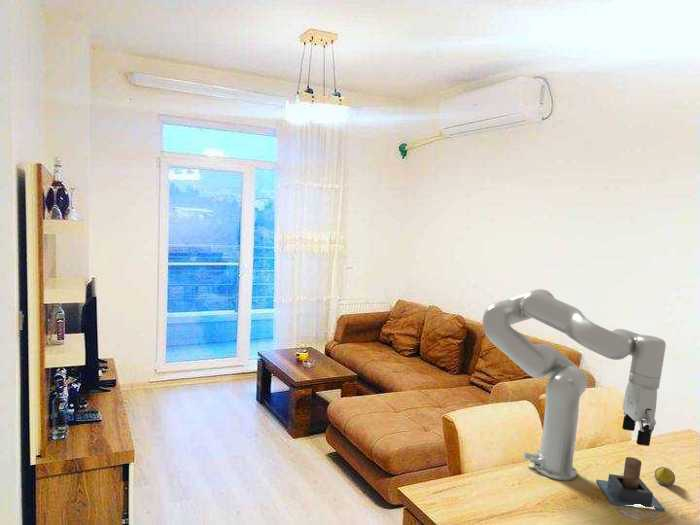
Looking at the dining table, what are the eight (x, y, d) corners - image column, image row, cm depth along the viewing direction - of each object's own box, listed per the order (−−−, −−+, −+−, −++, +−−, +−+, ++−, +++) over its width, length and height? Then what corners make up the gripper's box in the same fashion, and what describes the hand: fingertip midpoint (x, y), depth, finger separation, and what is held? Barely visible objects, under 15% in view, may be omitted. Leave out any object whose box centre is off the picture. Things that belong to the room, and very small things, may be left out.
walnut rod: (624, 496, 145) (629, 462, 144) (619, 488, 149) (623, 456, 148) (639, 498, 144) (644, 464, 143) (633, 490, 148) (637, 458, 147)
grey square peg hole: (611, 504, 141) (612, 491, 141) (595, 481, 153) (597, 469, 153) (664, 511, 140) (666, 498, 139) (644, 488, 151) (646, 476, 151)
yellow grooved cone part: (678, 487, 155) (679, 474, 148) (660, 491, 156) (660, 478, 150) (669, 470, 159) (669, 457, 152) (651, 474, 160) (651, 461, 153)
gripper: (618, 368, 152) (610, 422, 154) (643, 388, 135) (634, 449, 137) (644, 371, 151) (636, 426, 153) (673, 392, 134) (663, 453, 136)
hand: (635, 437), depth 145 cm, fingers open, 9 cm apart
